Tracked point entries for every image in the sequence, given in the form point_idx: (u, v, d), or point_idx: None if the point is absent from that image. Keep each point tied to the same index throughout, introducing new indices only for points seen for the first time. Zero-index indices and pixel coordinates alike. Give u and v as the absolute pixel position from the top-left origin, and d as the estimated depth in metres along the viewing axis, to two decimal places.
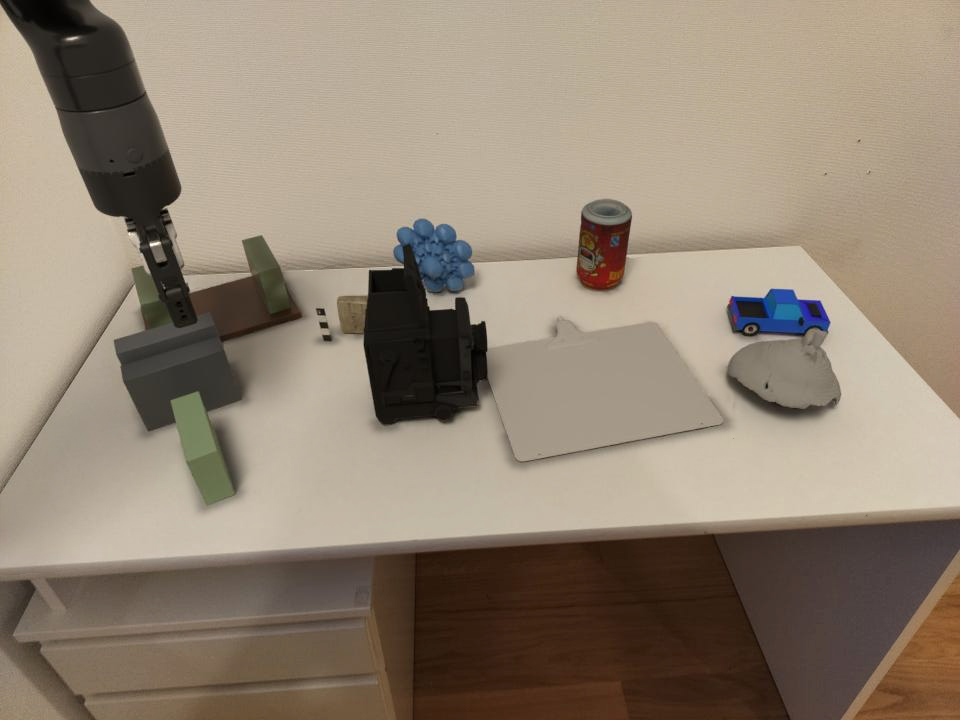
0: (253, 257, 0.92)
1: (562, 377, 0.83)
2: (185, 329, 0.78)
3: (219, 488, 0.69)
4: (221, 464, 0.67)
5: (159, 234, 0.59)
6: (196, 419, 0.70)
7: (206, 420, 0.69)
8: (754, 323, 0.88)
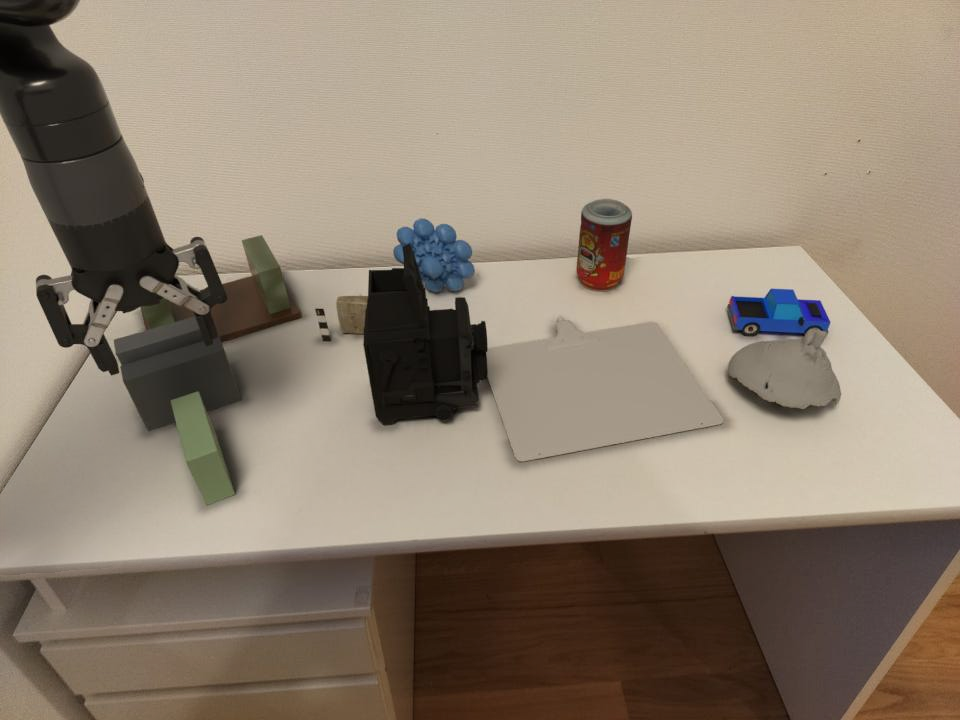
0: (253, 257, 0.92)
1: (562, 377, 0.83)
2: (185, 329, 0.78)
3: (219, 488, 0.69)
4: (221, 464, 0.67)
5: None
6: (196, 419, 0.70)
7: (206, 420, 0.69)
8: (754, 323, 0.88)
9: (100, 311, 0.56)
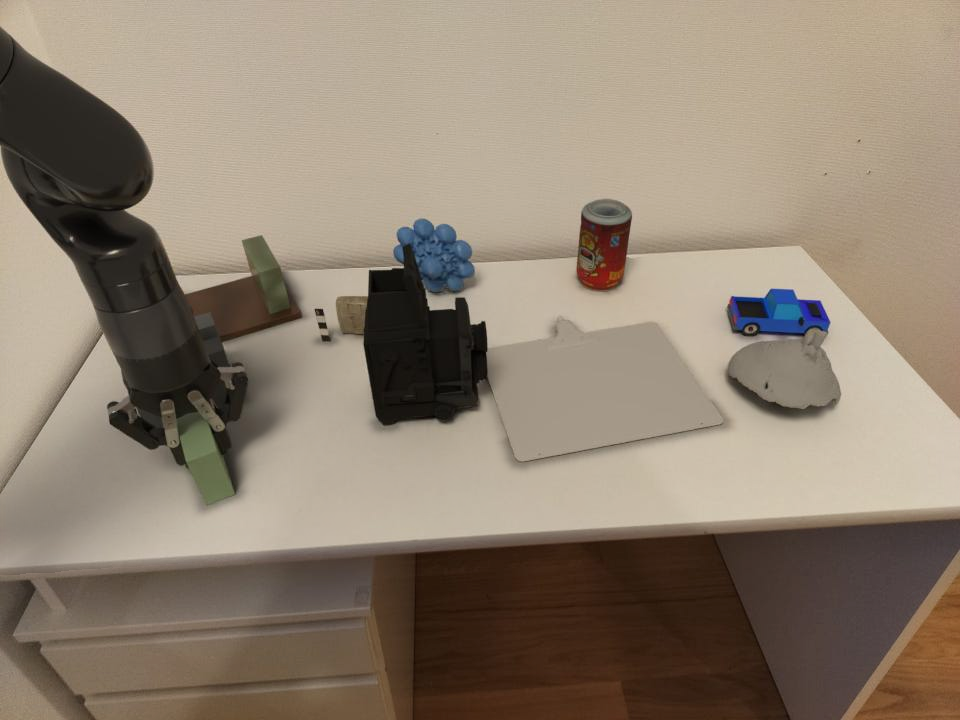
0: (253, 257, 0.92)
1: (562, 377, 0.83)
2: None
3: (219, 488, 0.69)
4: (221, 464, 0.67)
5: None
6: (196, 419, 0.69)
7: None
8: (754, 323, 0.88)
9: (165, 422, 0.65)
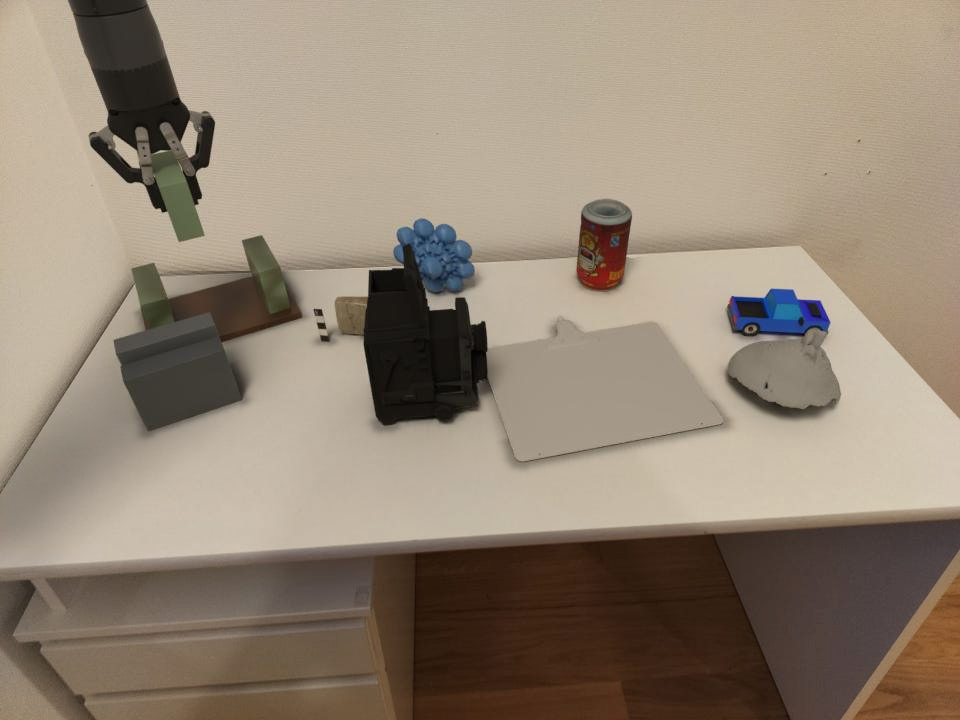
0: (253, 257, 0.92)
1: (562, 377, 0.83)
2: (185, 329, 0.78)
3: (190, 225, 0.77)
4: (191, 198, 0.76)
5: None
6: (169, 164, 0.78)
7: (178, 165, 0.78)
8: (754, 323, 0.88)
9: (140, 153, 0.74)
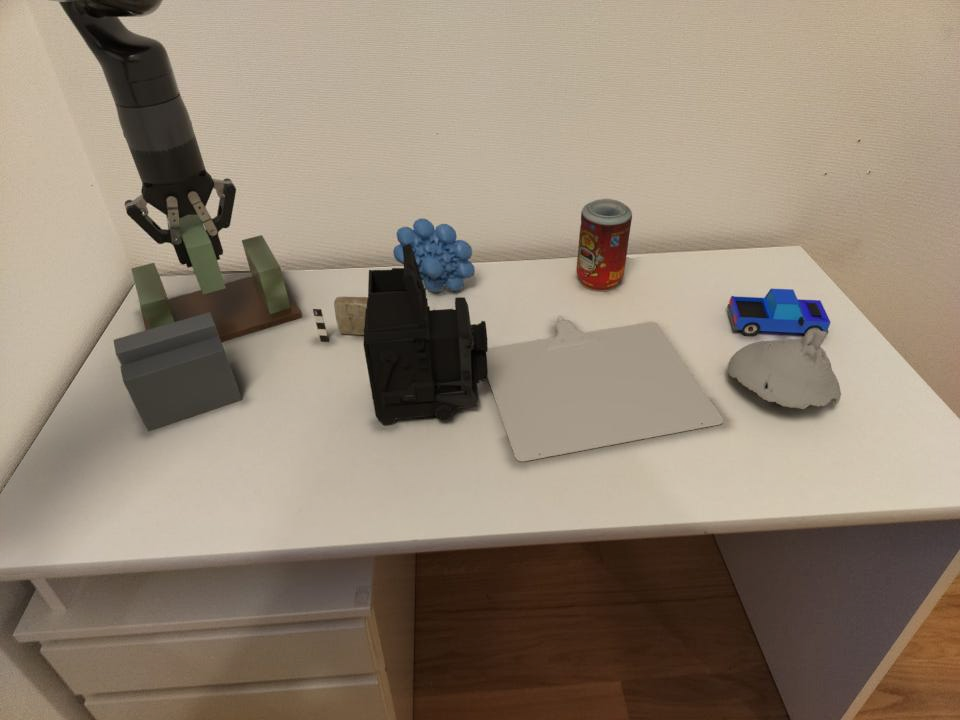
0: (253, 257, 0.92)
1: (562, 377, 0.83)
2: (185, 329, 0.78)
3: (213, 280, 0.87)
4: (214, 256, 0.85)
5: None
6: (195, 225, 0.87)
7: (202, 226, 0.87)
8: (754, 323, 0.88)
9: (170, 218, 0.83)
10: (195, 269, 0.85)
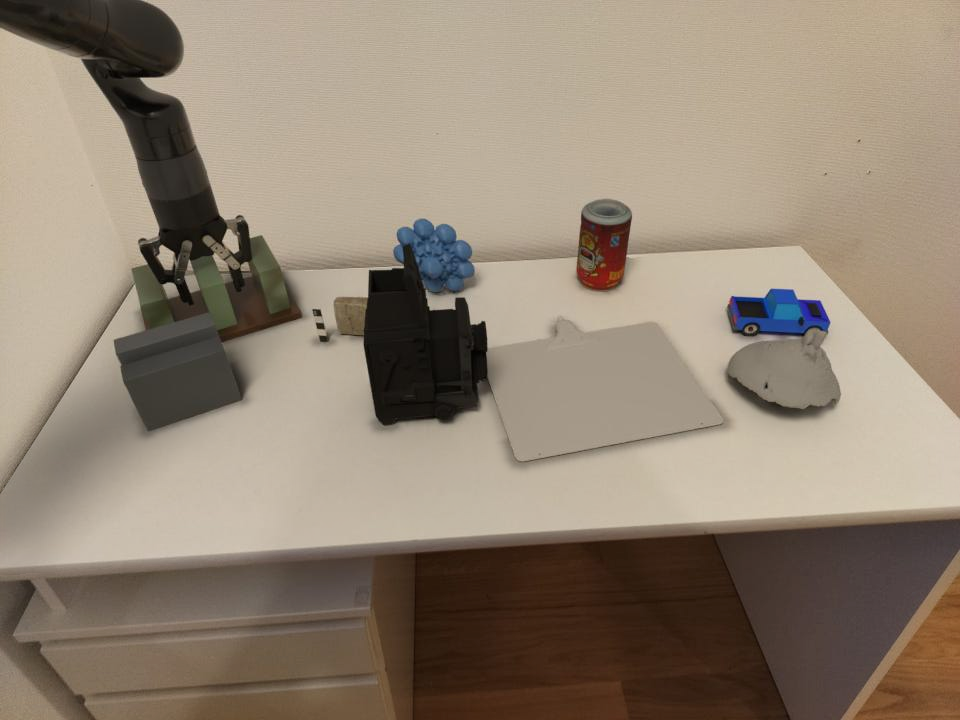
0: (253, 257, 0.92)
1: (562, 377, 0.83)
2: (185, 329, 0.78)
3: (225, 317, 0.91)
4: (227, 295, 0.89)
5: (224, 220, 0.89)
6: (208, 264, 0.91)
7: (215, 265, 0.91)
8: (754, 323, 0.88)
9: (180, 259, 0.86)
10: (209, 307, 0.89)
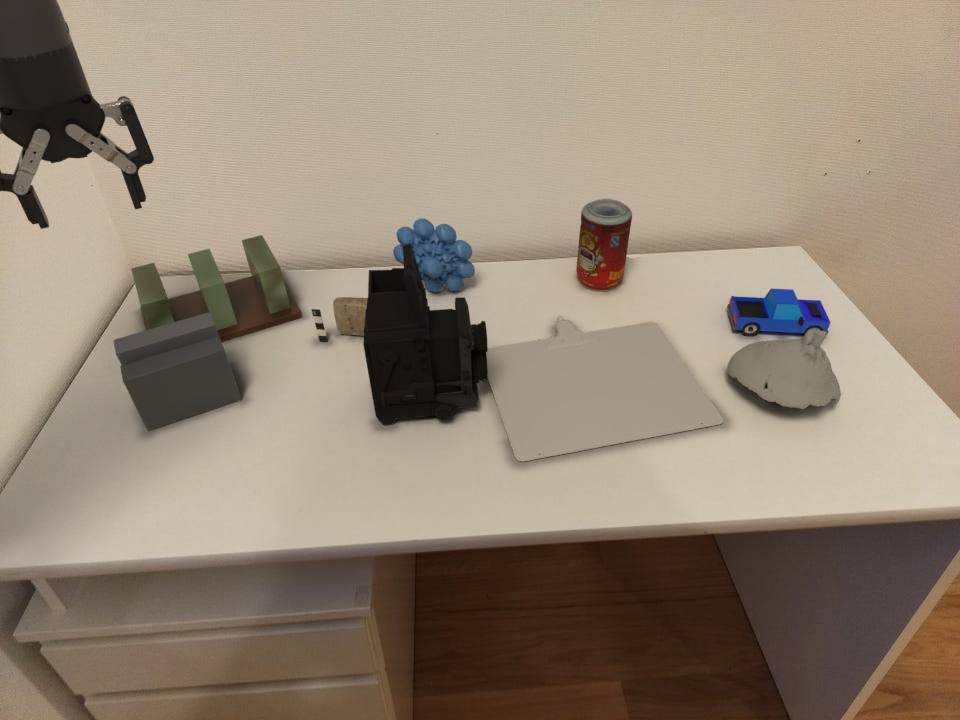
0: (253, 257, 0.92)
1: (562, 377, 0.83)
2: (185, 329, 0.78)
3: (225, 317, 0.91)
4: (227, 295, 0.89)
5: None
6: (208, 264, 0.91)
7: (215, 265, 0.91)
8: (754, 323, 0.88)
9: (27, 156, 0.60)
10: (209, 307, 0.89)
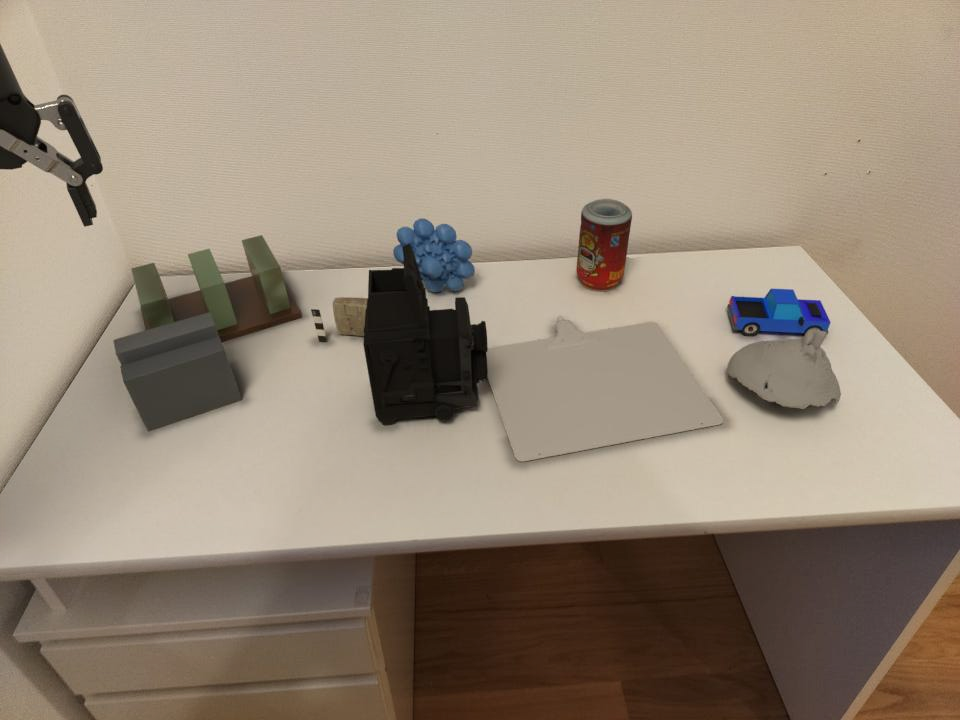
0: (253, 257, 0.92)
1: (562, 377, 0.83)
2: (185, 329, 0.78)
3: (225, 317, 0.91)
4: (227, 295, 0.89)
5: None
6: (208, 264, 0.91)
7: (215, 265, 0.91)
8: (754, 323, 0.88)
9: None
10: (209, 307, 0.89)
